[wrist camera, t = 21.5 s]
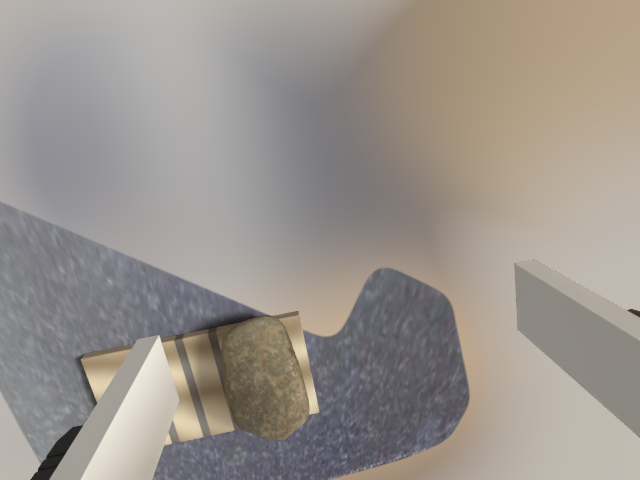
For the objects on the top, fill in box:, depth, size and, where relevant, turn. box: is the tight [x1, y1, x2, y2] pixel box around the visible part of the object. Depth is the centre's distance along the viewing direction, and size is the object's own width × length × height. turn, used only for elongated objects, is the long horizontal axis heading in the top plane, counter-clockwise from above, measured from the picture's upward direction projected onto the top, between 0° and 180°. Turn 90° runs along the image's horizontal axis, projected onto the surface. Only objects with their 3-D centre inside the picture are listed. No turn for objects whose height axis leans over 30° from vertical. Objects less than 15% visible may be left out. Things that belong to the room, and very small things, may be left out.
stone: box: [221, 315, 310, 440], centre depth 51 cm, size 9×14×10 cm, turn 10°
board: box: [81, 311, 319, 445], centre depth 54 cm, size 14×26×1 cm, turn 100°
